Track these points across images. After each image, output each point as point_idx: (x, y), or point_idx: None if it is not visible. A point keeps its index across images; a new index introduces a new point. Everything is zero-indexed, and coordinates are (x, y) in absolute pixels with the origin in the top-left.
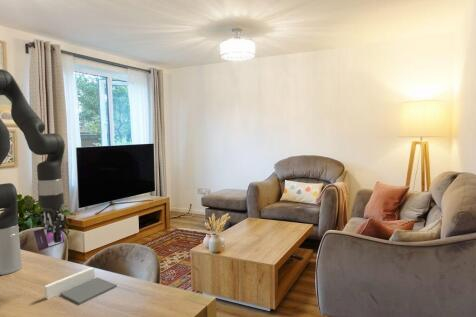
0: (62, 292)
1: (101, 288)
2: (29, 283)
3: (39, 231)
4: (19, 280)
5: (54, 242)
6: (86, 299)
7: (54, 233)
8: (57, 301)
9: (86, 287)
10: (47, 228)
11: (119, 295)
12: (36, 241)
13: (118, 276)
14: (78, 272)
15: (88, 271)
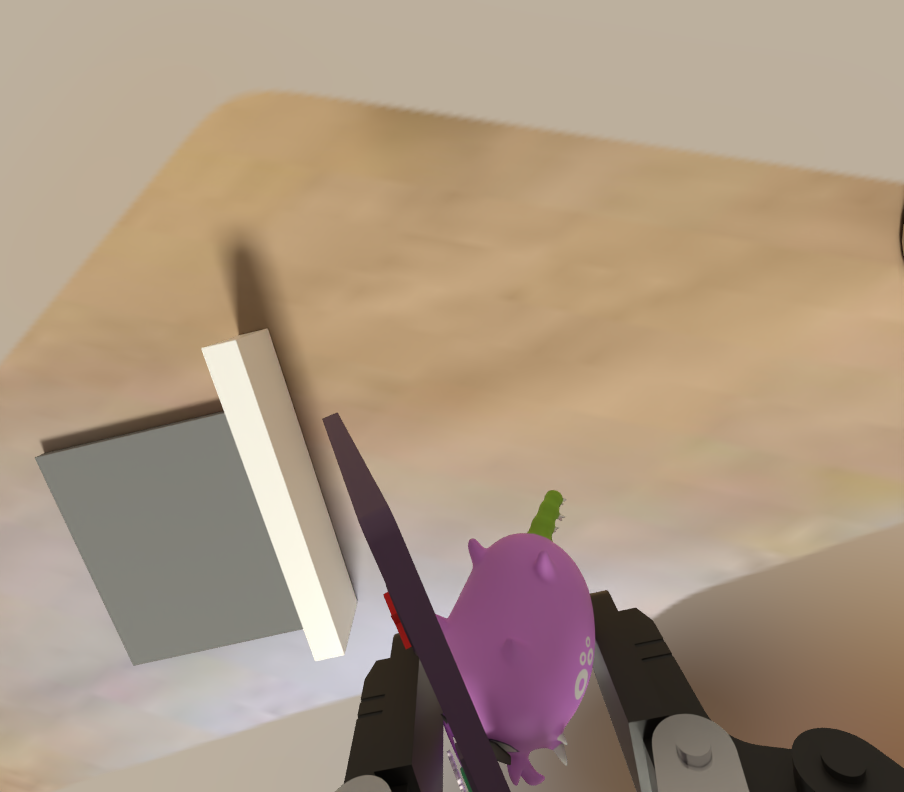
0: None
1: (144, 595)
2: (587, 297)
3: (395, 615)
4: (701, 253)
5: None
6: (55, 496)
7: (379, 760)
8: (170, 371)
9: (218, 541)
10: (657, 765)
11: (23, 632)
12: (338, 446)
13: (272, 706)
14: (315, 570)
15: (303, 619)
